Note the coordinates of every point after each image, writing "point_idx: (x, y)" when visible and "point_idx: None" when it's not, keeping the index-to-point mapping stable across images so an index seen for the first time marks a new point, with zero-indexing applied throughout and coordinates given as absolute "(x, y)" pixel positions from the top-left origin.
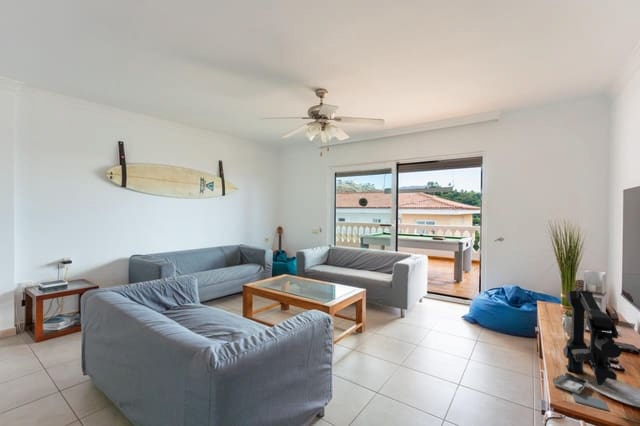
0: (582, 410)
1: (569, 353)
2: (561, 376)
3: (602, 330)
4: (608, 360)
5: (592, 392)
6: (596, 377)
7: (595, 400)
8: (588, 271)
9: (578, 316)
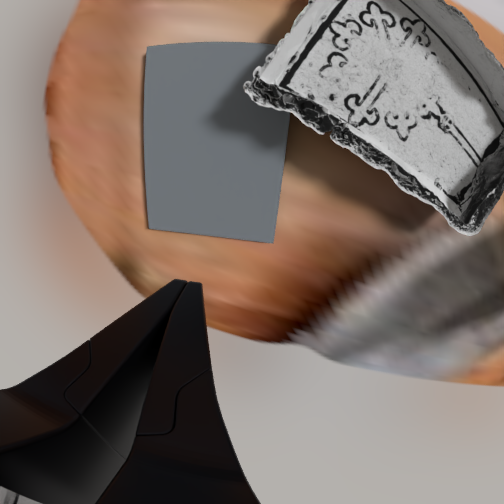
0: (75, 84)
1: None
2: (492, 64)
3: None
4: None
5: (384, 215)
6: (84, 343)
7: (236, 186)
8: None
9: None
